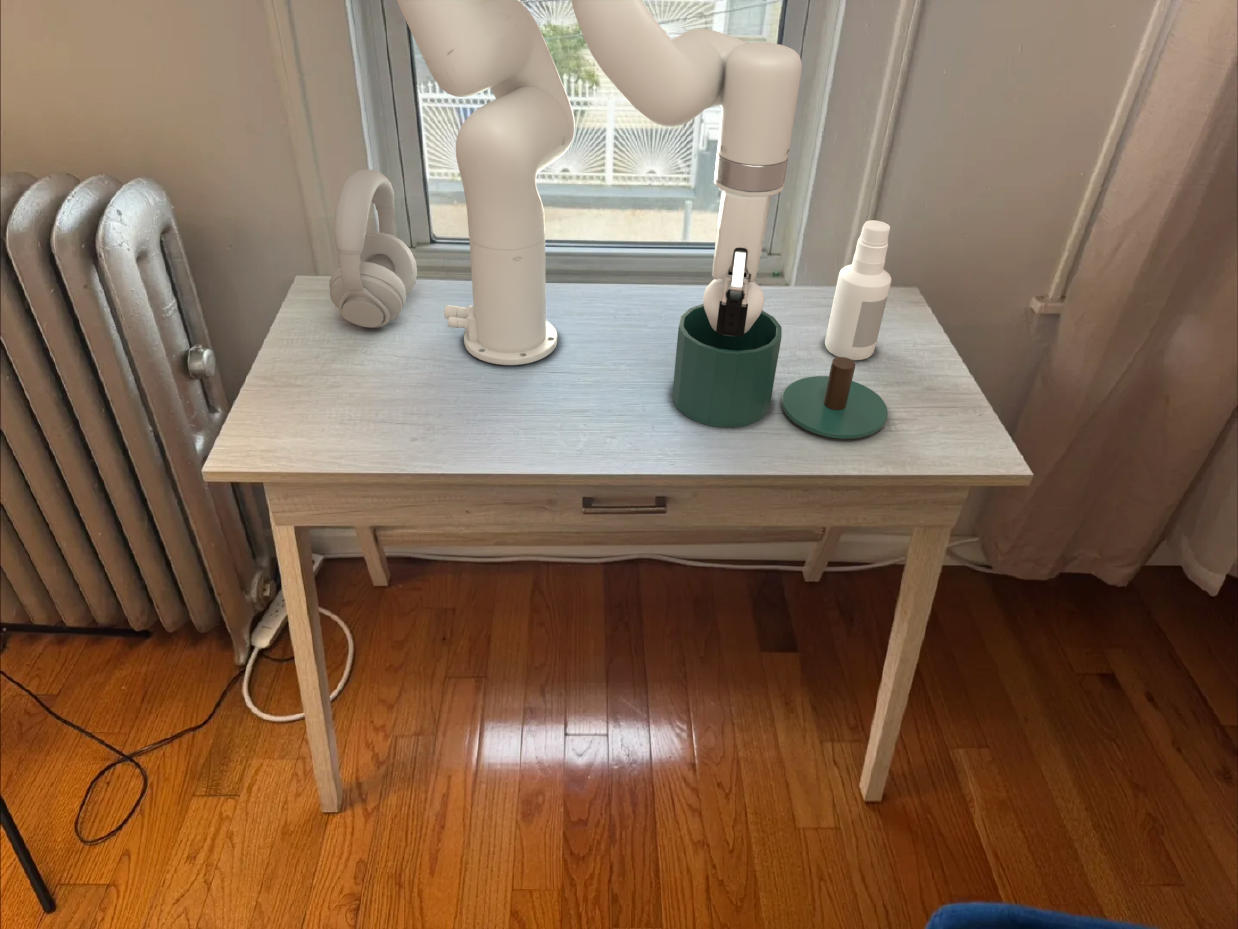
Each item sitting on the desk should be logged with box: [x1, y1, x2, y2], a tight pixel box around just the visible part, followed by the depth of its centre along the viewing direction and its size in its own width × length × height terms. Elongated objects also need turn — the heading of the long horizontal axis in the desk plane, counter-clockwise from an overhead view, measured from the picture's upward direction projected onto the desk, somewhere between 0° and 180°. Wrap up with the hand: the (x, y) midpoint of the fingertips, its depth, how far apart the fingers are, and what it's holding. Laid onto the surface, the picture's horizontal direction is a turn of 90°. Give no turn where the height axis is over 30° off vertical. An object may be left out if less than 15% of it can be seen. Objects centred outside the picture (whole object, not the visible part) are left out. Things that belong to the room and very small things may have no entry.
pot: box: [671, 303, 783, 428], centre depth 113 cm, size 12×12×10 cm
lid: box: [781, 356, 889, 440], centre depth 113 cm, size 13×13×7 cm
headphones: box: [328, 168, 418, 329], centre depth 124 cm, size 18×10×20 cm, turn 177°
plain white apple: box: [702, 275, 765, 336], centre depth 108 cm, size 7×7×8 cm
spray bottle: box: [824, 219, 892, 361], centre depth 122 cm, size 7×7×18 cm
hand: (731, 316), depth 109 cm, fingers closed on plain white apple, 7 cm apart
